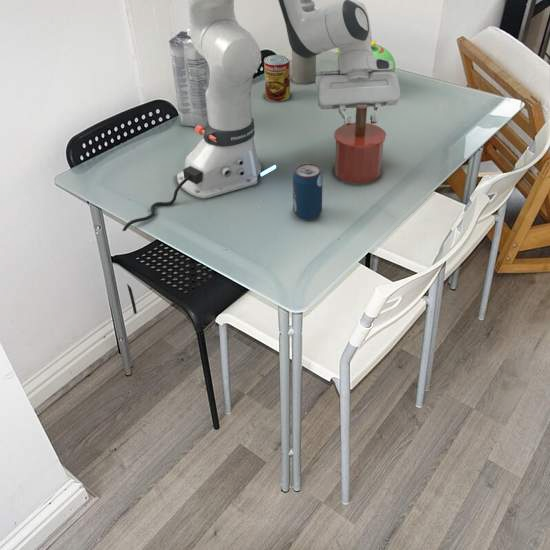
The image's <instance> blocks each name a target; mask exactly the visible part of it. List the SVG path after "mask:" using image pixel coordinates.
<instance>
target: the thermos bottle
mask: <svg viewBox="0 0 550 550" xmlns="http://www.w3.org/2000/svg"><path fill="white" fill-rule="evenodd" d="M300 4H301V7H302V10H303V11H305V12H312V11H315V10H317V9H316V8H315V6H316V4H315V2H314V1H313V0H300ZM316 76H317V55H315V56H313V57H311V58H308V59H307V58H304V57H301V56H299V55H298V54H296V53H295V52H294V51H293V50H292V49H291V79H292V82H294V83H296V84H299V85H300V84H301V85H308V84H311V83H314V82H316V81H315V78H316Z"/></svg>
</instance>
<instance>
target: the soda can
mask: <svg viewBox="0 0 550 550" xmlns="http://www.w3.org/2000/svg"><path fill="white" fill-rule="evenodd" d="M323 177H324V176H323V174H322V171H321V168H320V167H319V166H318V165H316V164H313V163H301V164H300V165H298V166H296V168H295V169H294V172H293V174H292V212H293V214H294V215H295V216H296V217H297V218H298V219H300V220H302V221H312V220H315V219H317V218H318V217H319V216H320V214H321V213H322V212H323V186H324V185H323V183H324V182H323V181H324V180H323V179H324V178H323Z"/></svg>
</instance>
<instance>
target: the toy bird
mask: <svg viewBox="0 0 550 550" xmlns="http://www.w3.org/2000/svg"><path fill="white" fill-rule="evenodd" d="M376 42H377V40H376V39H372V41H371V49H372V52H373V56H374V57H377V58H381V59H384V60H389V61H391V62H393V71H392V72H394V73H395V74H396V61H395V59H394V56H393V54H392V53H391V51H389V50H388V49H387V48H385V47H384V46H382V45H379V44H376ZM334 53H335V54H336V55H338V54H339V51H338V49H336V50H334Z"/></svg>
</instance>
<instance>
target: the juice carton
mask: <svg viewBox="0 0 550 550" xmlns="http://www.w3.org/2000/svg"><path fill="white" fill-rule="evenodd" d="M168 44H169V50H170V60H171V66H172V67H171V68H172V71H173V72H172V74H173V80H174V86H175V95H176V102H177V109H178V115H179V118H180V122H181V125H182V126H184V127H194V128H196V126H198V125H200V126H202V127H203V128H206V124H207V121H208V115H207V105H206V96H205V94H206V90H207V89H208V87H209V81H210V69H209V66H208V63H207V61H206V60H205V59H204V58H203V57H202V56H201V55H200V54H199V53H198V52H197V51H196V49H195V47H194V45H193V43H192V41H191V38H190V34H189V28H188V29H186V31H180V32H179V33H177V34H175V36H174V37H172V38H170V40H168Z"/></svg>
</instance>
